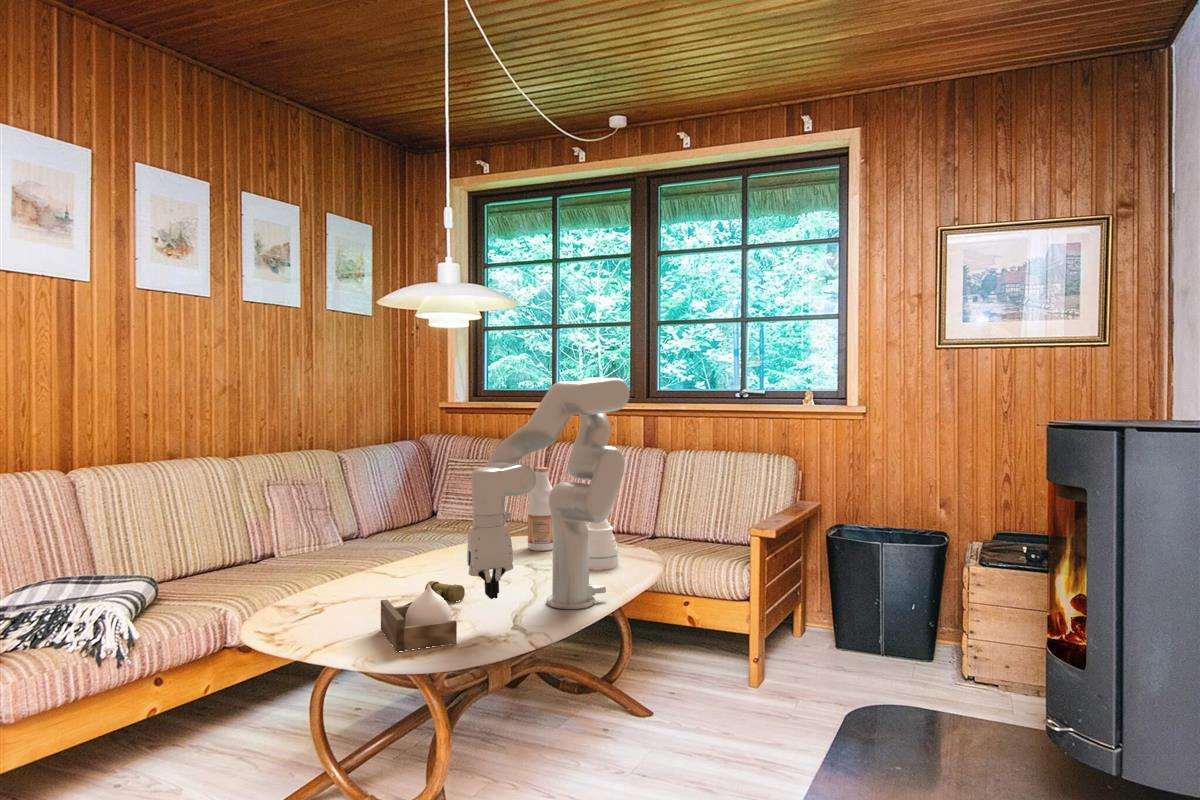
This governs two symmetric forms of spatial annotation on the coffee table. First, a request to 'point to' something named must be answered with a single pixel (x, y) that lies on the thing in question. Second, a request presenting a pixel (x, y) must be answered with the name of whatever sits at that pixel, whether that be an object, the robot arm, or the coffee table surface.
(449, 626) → the box
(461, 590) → the gavel
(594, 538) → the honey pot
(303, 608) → the coffee table surface
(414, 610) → the teardrop
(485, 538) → the robot arm
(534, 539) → the fruit juice
